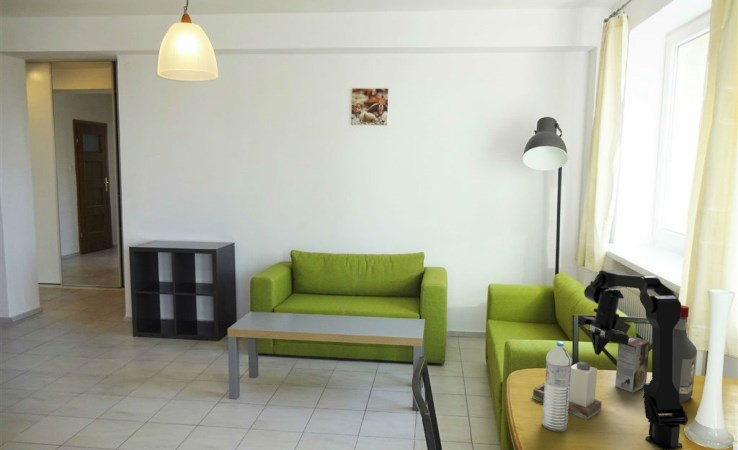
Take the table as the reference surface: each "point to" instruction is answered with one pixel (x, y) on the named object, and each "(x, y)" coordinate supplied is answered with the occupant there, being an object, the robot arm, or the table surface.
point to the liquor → (683, 358)
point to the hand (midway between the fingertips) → (597, 354)
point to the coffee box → (632, 364)
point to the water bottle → (557, 389)
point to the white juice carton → (583, 384)
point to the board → (571, 404)
